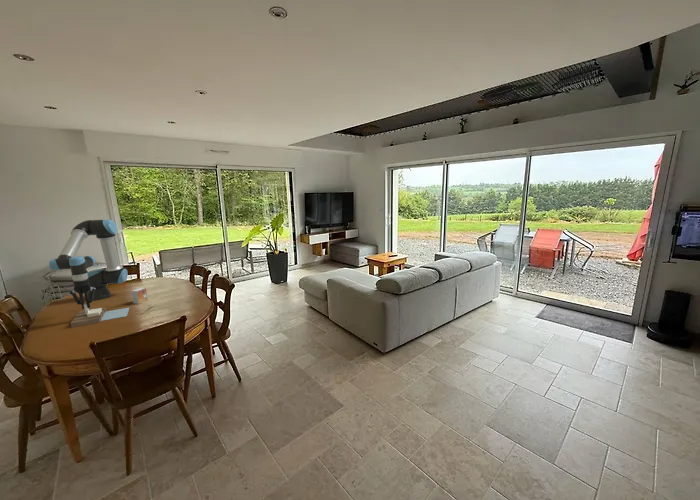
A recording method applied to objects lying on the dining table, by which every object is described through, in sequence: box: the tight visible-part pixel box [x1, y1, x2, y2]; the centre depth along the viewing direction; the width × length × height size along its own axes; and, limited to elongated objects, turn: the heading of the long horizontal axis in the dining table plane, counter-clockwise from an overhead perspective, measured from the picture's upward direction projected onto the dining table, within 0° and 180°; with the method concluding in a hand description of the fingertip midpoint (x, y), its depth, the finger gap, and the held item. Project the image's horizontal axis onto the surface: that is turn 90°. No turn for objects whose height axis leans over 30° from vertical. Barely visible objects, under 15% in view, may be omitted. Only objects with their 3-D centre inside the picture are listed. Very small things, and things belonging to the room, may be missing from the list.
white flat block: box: [87, 307, 103, 317], centre depth 194 cm, size 9×6×2 cm, turn 32°
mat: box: [100, 307, 130, 322], centre depth 201 cm, size 18×14×1 cm
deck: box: [70, 306, 107, 329], centre depth 193 cm, size 22×14×3 cm, turn 32°
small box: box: [131, 287, 149, 305], centre depth 222 cm, size 8×6×10 cm
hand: (87, 312), depth 192 cm, fingers closed
